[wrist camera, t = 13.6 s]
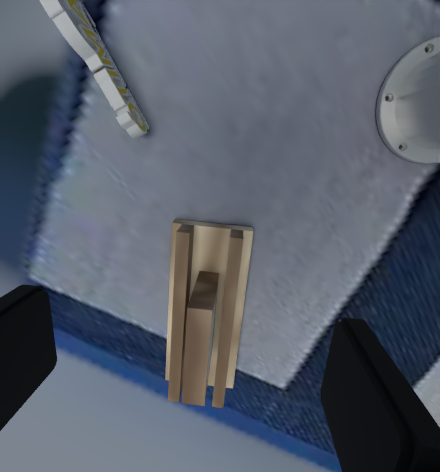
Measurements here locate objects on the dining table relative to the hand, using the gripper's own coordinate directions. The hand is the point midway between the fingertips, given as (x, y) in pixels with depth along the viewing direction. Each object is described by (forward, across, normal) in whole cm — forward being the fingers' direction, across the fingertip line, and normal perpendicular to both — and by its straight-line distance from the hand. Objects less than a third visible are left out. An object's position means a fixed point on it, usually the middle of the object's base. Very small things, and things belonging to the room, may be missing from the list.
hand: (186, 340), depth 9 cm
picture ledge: (+28, +2, +16) cm, 32 cm away
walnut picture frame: (+26, +2, +15) cm, 30 cm away
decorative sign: (+28, +15, -14) cm, 35 cm away
